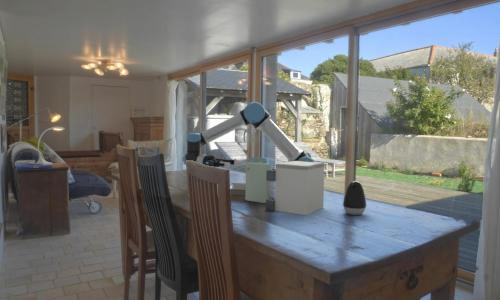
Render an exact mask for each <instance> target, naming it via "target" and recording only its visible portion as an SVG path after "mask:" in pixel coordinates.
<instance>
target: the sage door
mask: <svg viewBox="0 0 500 300" xmlns="http://www.w3.org/2000/svg"><path fill="white" fill-rule="evenodd" d="M267 170H271V164H270V163H264V162H249V161H248V162H245V196H244V197H245V201H246V202H247V201H249V202H254V203H256V202H257V203H263V204H266V200H267V199H269V200H271V198H270V196H271V195H270V193H271V191H270V189H271V188H270V187H271V185H270V184H271V181H266V172H267Z"/></svg>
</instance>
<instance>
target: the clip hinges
mask: <svg viewBox="0 0 500 300" xmlns="http://www.w3.org/2000/svg"><path fill="white" fill-rule="evenodd" d="M275 172H276V168H272V169H270V170H267V172H266V181H270V182H275ZM265 211H268V212H276V211H275V197H271V199H270V200H269V199H267V200H266V203H265Z"/></svg>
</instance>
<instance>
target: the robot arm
mask: <svg viewBox="0 0 500 300" xmlns="http://www.w3.org/2000/svg"><path fill="white" fill-rule="evenodd" d="M271 117H272V116H271V114H270V113H269V112H268V110H267V109H266V108H265V107H264V105H263V104H262V103H261V102H257V101H251V102H249V103H247V105H246V106H245V107H244V108H243V109H242V110H240V111H238V114H235V115H233V116H232V117H231V116H230V118H228V119H226V120H224V121H222V122H220V123H218V124H215V125H213V126H212V127H210V128H208V129H206V130H204V131H202V132H200V133H199V132H189V133H187V147H186V148H187V151H186V153H184V155H183V157H182V162H183V164H184V166H187V165H186V160H193V161H196V162H199V163H201V164H205V165H209V166H214V167H213V168H217V167H219V168H226V169H230V168H231V165H233V166H240V167H241V166H242V167H246V161H245V160H237V159H236V158H234V159H226V158H225V159H224V158H217V157H216V156H215V155H212V154H204V153H201V148H202V147H203V146H205V145H207V144H209V143H211V142H213V141H215V140H217V139H219V138H221V137H223V136H225V135H226V134H227V135H228V134H229V133H231V132H233V131H235V130H237V129H239V128H241V127H242V126H249V125H252V126H253V128H254V129H255V130H260V131H261V133H263V134H264V135H265V137H267V139H268V140H269V141H270V142H271V143H272V144H273V145H274V147H276V148H277V150H278V151H280V152H281V154H282V155H283V156H284V157H285V159H287V162H291V161H304V162H315V160H314V159H313V158H312V155H311V153H310V152H305V150H304V149H299V148H298V146H296V145H295V144H294V142H293V141H292V140H291V139H290V138H289V137H288V136H287V135H286V134H285V133H284V132H283V130H281V128H280V127H279V126H278V125H277V124H276V123H275V122H274V121H273V120H272V119H271Z"/></svg>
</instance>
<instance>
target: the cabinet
mask: <svg viewBox="0 0 500 300" xmlns="http://www.w3.org/2000/svg"><path fill="white" fill-rule="evenodd" d="M275 169H276V172H275V181H274V184H275V186H274V198H275V211H274V212H281V213H288V214H295V215H301V216H308V215H310V214H313V213H315V212H317V211H319V210H321V209H324V197H325V196H324V192H325V191H324V189H325V162H319V161H318V162H316V161H314V162H304V161H291V162H288V161H285V162H279V163H275Z"/></svg>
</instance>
